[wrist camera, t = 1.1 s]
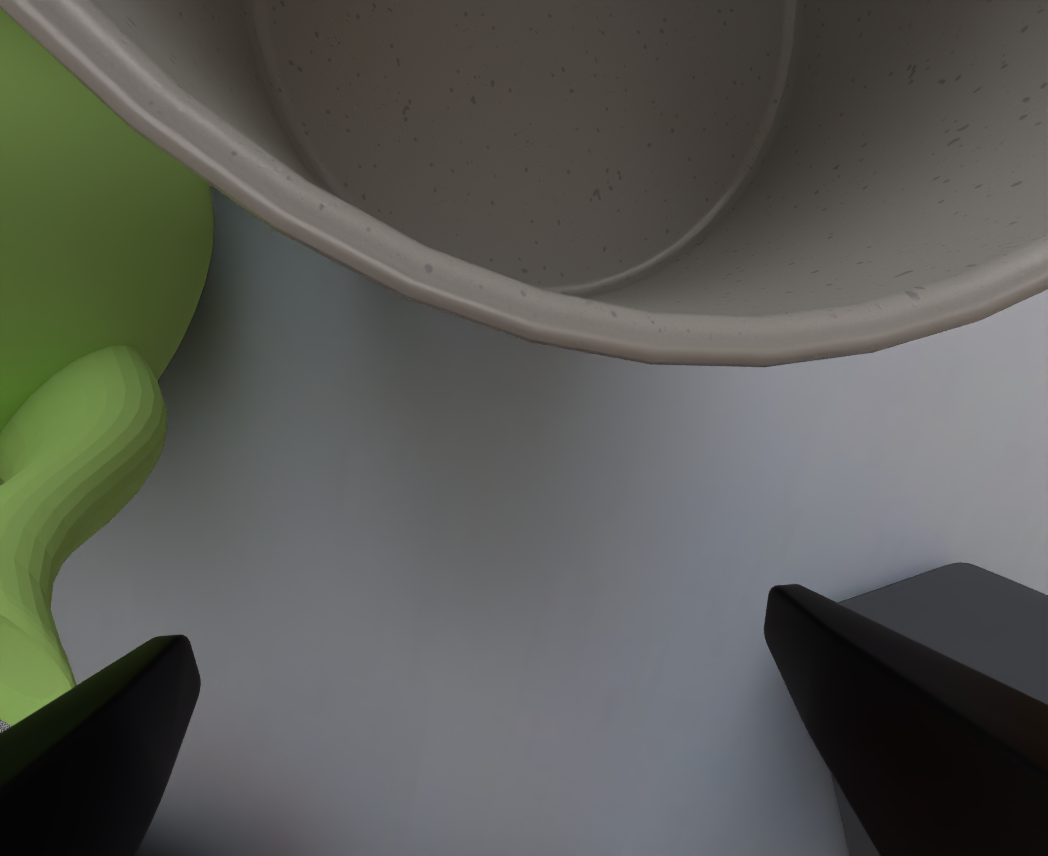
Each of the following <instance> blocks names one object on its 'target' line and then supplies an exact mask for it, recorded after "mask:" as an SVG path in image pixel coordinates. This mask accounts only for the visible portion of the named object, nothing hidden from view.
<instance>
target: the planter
mask: <svg viewBox="0 0 1048 856" xmlns="http://www.w3.org/2000/svg"><path fill="white" fill-rule="evenodd" d="M0 9H1V10H2V11H3V12H4V13H5V14H7V15H8V16H9V17H10V18H11V19H12V20H13V21H14V22H15V23H16V24H18V25H19V26H20V27H21V28H22V29H23V30H24V31H25V32H26V33H27V34H28V35H30V36H31V37H32V38H33V39H34V40H35V41H36V42H37V43H38V44H39V45H40V46H42V47H43V48H44V49H45V50H46V51H47V52H48V53H49V54H50V55H51V56H53V57H54V58H55V59H56V60H57V61H58V62H59V63H60V64H61V65H62V66H63V67H65V68H66V69H67V70H68V71H69V72H70V73H71V74H72V75H73V76H74V77H76V78H77V79H78V80H79V81H80V82H81V83H82V84H83V85H84V86H85V87H86V88H88V89H89V90H90V91H91V92H92V93H93V94H94V95H95V96H96V97H97V98H98V99H100V100H101V101H102V102H103V103H104V104H105V105H106V106H107V107H108V108H109V109H111V110H112V111H113V112H114V113H115V114H116V115H117V116H118V117H119V118H120V119H121V120H123V121H124V122H125V123H126V124H127V125H128V126H129V127H130V128H131V129H132V130H134V131H135V132H136V133H138V134H139V135H141V136H142V137H143V138H145V139H146V140H148V141H149V142H151V143H152V144H153V145H155V146H156V147H158V148H159V149H160V150H162V151H163V152H165V153H166V154H167V155H169V156H170V157H172V158H173V159H175V160H176V161H177V162H179V163H180V164H182V165H183V166H184V167H186V168H187V169H189V170H190V171H192V172H193V173H194V174H196V175H197V176H199V177H200V178H201V179H203V180H204V181H206V182H207V183H208V184H210V185H211V186H213V187H214V188H216V189H217V190H218V191H220V192H221V193H223V194H224V195H225V196H227V197H228V198H230V199H231V200H232V201H234V202H235V203H237V204H238V205H240V206H241V207H242V208H244V209H245V210H247V211H248V212H249V213H251V214H252V215H254V216H255V217H256V218H258V219H259V220H261V221H262V222H264V223H265V224H266V225H268V226H269V227H271V228H272V229H274V230H276V231H277V232H279V233H281V234H283V235H285V236H287V237H289V238H291V239H293V240H295V241H297V242H298V243H300V244H302V245H304V246H306V247H308V248H310V249H312V250H314V251H316V252H318V253H320V254H321V255H323V256H325V257H327V258H329V259H331V260H333V261H335V262H337V263H339V264H341V265H343V266H344V267H346V268H348V269H350V270H352V271H354V272H356V273H358V274H360V275H362V276H364V277H365V278H367V279H369V280H371V281H373V282H375V283H377V284H379V285H381V286H383V287H385V288H387V289H388V290H390V291H392V292H394V293H396V294H398V295H400V296H402V297H404V298H406V299H409V300H412V301H414V302H417V303H420V304H423V305H426V306H429V307H432V308H434V309H437V310H440V311H443V312H446V313H449V314H452V315H455V316H457V317H460V318H463V319H466V320H469V321H472V322H475V323H477V324H480V325H483V326H486V327H489V328H492V329H495V330H497V331H500V332H503V333H506V334H509V335H512V336H515V337H517V338H520V339H523V340H526V341H529V342H532V343H538V344H543V345H549V346H554V347H559V348H565V349H570V350H576V351H581V352H586V353H592V354H597V355H603V356H608V357H614V358H619V359H624V360H630V361H635V362H641V363H646V364H657V365H698V366H739V367H769V366H776V365H784V364H791V363H799V362H806V361H813V360H821V359H828V358H836V357H843V356H850V355H858V354H865V353H872V352H876V351H880V350H883V349H886V348H890V347H893V346H896V345H900V344H903V343H906V342H910V341H913V340H917V339H920V338H923V337H927V336H930V335H933V334H937V333H940V332H943V331H947V330H950V329H953V328H957V327H960V326H964V325H967V324H970V323H974V322H977V321H980V320H982V319H984V318H987V317H989V316H991V315H993V314H995V313H997V312H999V311H1002V310H1004V309H1006V308H1008V307H1010V306H1012V305H1014V304H1017V303H1019V302H1021V301H1023V300H1025V299H1027V298H1029V297H1032V296H1034V295H1036V294H1038V293H1040V292H1042V291H1045V290H1047V289H1048V0H0Z"/></svg>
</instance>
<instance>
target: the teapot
mask: <svg viewBox="0 0 1048 856" xmlns="http://www.w3.org/2000/svg"><path fill="white" fill-rule="evenodd" d="M214 218H215V216H214V209H213V202H212V195H211V188H210V184H208V183H207V182H206V181H204V180H203V179H201V178H200V177H199V176H197V175H196V174H194V173H193V172H192V171H190V170H189V169H187V168H186V167H184V166H183V165H182V164H180V163H179V162H177V161H176V160H175V159H173V158H172V157H170V156H169V155H167V154H166V153H165V152H163V151H162V150H160V149H159V148H158V147H156V146H155V145H153V144H152V143H151V142H149V141H148V140H146V139H145V138H143V137H142V136H141V135H139V134H138V133H136V132H135V131H134V130H132V129H131V128H130V127H129V126H128V125H127V124H126V123H125V122H124V121H123V120H121V119H120V118H119V117H118V116H117V115H116V114H115V113H114V112H113V111H112V110H111V109H109V108H108V107H107V106H106V105H105V104H104V103H103V102H102V101H101V100H100V99H98V98H97V97H96V96H95V95H94V94H93V93H92V92H91V91H90V90H89V89H88V88H86V87H85V86H84V85H83V84H82V83H81V82H80V81H79V80H78V79H77V78H76V77H74V76H73V75H72V74H71V73H70V72H69V71H68V70H67V69H66V68H65V67H63V66H62V65H61V64H60V63H59V62H58V61H57V60H56V59H55V58H54V57H53V56H51V55H50V54H49V53H48V52H47V51H46V50H45V49H44V48H43V47H42V46H40V45H39V44H38V43H37V42H36V41H35V40H34V39H33V38H32V37H31V36H30V35H28V34H27V33H26V32H25V31H24V30H23V29H22V28H21V27H20V26H19V25H18V24H16V23H15V22H14V21H13V20H12V19H11V18H10V17H9V16H8V15H7V14H5V13H4V12H3V11H2V10H1V9H0V719H1V720H2V721H4V722H6V723H8V724H9V725H12V726H13V725H14V724H16V723H18V722H19V721H21V720H22V719H24V718H26V717H27V716H29V715H30V714H32V713H34V712H35V711H37V710H38V709H40V708H42V707H43V706H45V705H46V704H48V703H50V702H51V701H53V700H54V699H56V698H58V697H59V696H61V695H62V694H64V693H66V692H67V691H69V690H70V689H72V688H74V687H75V686H77V685H76V681H75V678H74V676H73V673H72V670H71V667H70V664H69V662H68V659H67V656H66V654H65V651H64V649H63V647H62V645H61V642H60V638H59V635H58V632H57V629H56V625H55V622H54V619H53V616H52V612H51V599H52V588H53V582H54V580H55V578H56V576H57V574H58V572H59V570H60V568H61V566H62V564H63V563H64V562H65V560H66V559H67V558H68V557H69V556H70V555H71V553H72V552H73V551H75V550H76V549H77V548H78V547H79V546H80V545H82V544H83V543H84V542H85V541H86V540H87V539H89V538H90V537H91V536H92V535H93V534H95V533H96V532H97V531H98V530H100V529H101V528H102V527H103V526H104V525H106V524H107V523H108V522H109V521H110V520H111V519H112V518H113V517H114V516H115V515H116V514H117V513H118V512H119V511H120V510H121V509H122V508H123V507H124V506H125V505H126V504H127V503H128V502H129V501H130V500H131V499H132V498H133V497H134V495H135V494H136V493H137V492H138V491H139V489H140V488H141V486H142V485H143V483H144V482H145V480H146V479H147V477H148V476H149V474H150V472H151V471H152V469H153V467H154V466H155V464H156V462H157V461H158V459H159V456H160V454H161V451H162V448H163V445H164V440H165V434H166V427H167V410H166V407H165V403H164V399H163V396H162V392H161V389H160V387H159V385H158V382H157V381H158V379H159V378H160V377H161V375H162V374H163V372H164V370H165V369H166V367H167V366H168V364H169V362H170V361H171V359H172V357H173V356H174V354H175V352H176V351H177V349H178V347H179V345H180V343H181V341H182V339H183V337H184V335H185V333H186V330H187V328H188V326H189V324H190V322H191V320H192V318H193V315H194V313H195V310H196V307H197V304H198V301H199V299H200V296H201V293H202V290H203V287H204V285H205V282H206V277H207V273H208V268H209V264H210V259H211V255H212V250H213V237H214Z"/></svg>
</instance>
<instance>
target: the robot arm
mask: <svg viewBox="0 0 1048 856" xmlns="http://www.w3.org/2000/svg"><path fill="white" fill-rule="evenodd" d="M764 635H765V639H766V643H767V645H768V647H769V650H770V652H771V654H772V656H773V658H774V660H775V663H776V665H777V667H778V669H779V671H780V673H781V676H782V678H783V680H784V682H785V684H786V686H787V689H788V691H789V693H790V695H791V697H792V699H793V702H794V704H795V706H796V708H797V710H798V712H799V714H800V717H801V719H802V721H803V723H804V725H805V727H806V729H807V731H808V733H809V735H810V737H811V739H812V740H813V742H814V744H815V746H816V748H817V749H818V751H819V753H820V755H821V756H822V758H823V760H824V761H825V763H826V765H827V766H828V768H829V770H830V772H831V773H832V775H833V777H834V778H835V780H836V782H837V784H838V785H839V787H840V789H841V790H842V792H843V794H844V796H845V797H846V799H847V801H848V802H849V804H850V806H851V807H852V809H853V811H854V813H855V814H856V816H857V818H858V819H859V821H860V823H861V825H862V826H863V828H864V830H865V831H866V833H867V835H868V837H869V838H870V840H871V842H872V843H873V845H874V847H875V849H876V850H877V852H878V854H879V855H880V856H1048V704H1046V703H1044V702H1042V701H1040V700H1037V699H1035V698H1033V697H1031V696H1029V695H1027V694H1025V693H1023V692H1021V691H1019V690H1017V689H1015V688H1013V687H1010V686H1008V685H1006V684H1004V683H1002V682H1000V681H998V680H996V679H994V678H992V677H990V676H988V675H986V674H984V673H981V672H979V671H977V670H975V669H973V668H971V667H969V666H967V665H965V664H963V663H961V662H959V661H957V660H954V659H952V658H950V657H948V656H946V655H944V654H942V653H940V652H938V651H936V650H934V649H932V648H930V647H928V646H925V645H923V644H921V643H919V642H917V641H915V640H913V639H911V638H909V637H907V636H905V635H903V634H901V633H898V632H896V631H894V630H892V629H890V628H888V627H886V626H884V625H882V624H880V623H878V622H876V621H874V620H872V619H869V618H867V617H865V616H863V615H861V614H859V613H857V612H855V611H853V610H851V609H849V608H847V607H845V606H842V605H840V604H838V603H836V602H834V601H832V600H830V599H828V598H826V597H824V596H822V595H820V594H818V593H816V592H813V591H811V590H809V589H807V588H805V587H803V586H801V585H798V584H789V585H777V586H774V587H772V588H771V590H770V591H769V595H768V602H767V609H766V616H765V624H764ZM200 686H201V679H200V674H199V671H198V667H197V664H196V660H195V657H194V653H193V650H192V646H191V643H190V641H189V639H188V638H187V637H186V636H184V635H168V636H158V637H154V638H152V639H150V640H149V641H147V642H146V643H144V644H142V645H141V646H139V647H138V648H136V649H134V650H133V651H131V652H130V653H128V654H126V655H125V656H123V657H122V658H120V659H118V660H117V661H115V662H114V663H112V664H110V665H109V666H107V667H106V668H104V669H102V670H101V671H99V672H98V673H96V674H94V675H93V676H91V677H90V678H88V679H86V680H85V681H83V682H82V683H80V684H78V685H77V686H75V687H74V688H72V689H70V690H69V691H67V692H66V693H64V694H62V695H61V696H59V697H58V698H56V699H54V700H53V701H51V702H50V703H48V704H46V705H45V706H43V707H42V708H40V709H38V710H37V711H35V712H34V713H32V714H30V715H29V716H27V717H26V718H24V719H22V720H21V721H19V722H18V723H16V724H14V725H13V726H11V727H10V728H8V729H6V730H5V731H3V732H2V733H0V856H135V855H136V853H137V851H138V849H139V847H140V845H141V843H142V840H143V838H144V836H145V834H146V832H147V830H148V828H149V826H150V823H151V821H152V819H153V817H154V815H155V812H156V810H157V808H158V806H159V803H160V801H161V798H162V796H163V793H164V791H165V788H166V786H167V783H168V780H169V777H170V775H171V772H172V769H173V766H174V763H175V761H176V758H177V755H178V752H179V749H180V747H181V744H182V741H183V738H184V735H185V733H186V730H187V727H188V724H189V722H190V719H191V716H192V713H193V710H194V708H195V705H196V702H197V699H198V696H199V693H200Z"/></svg>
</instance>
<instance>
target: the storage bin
mask: <svg viewBox="0 0 1048 856" xmlns="http://www.w3.org/2000/svg"><path fill="white" fill-rule="evenodd" d="M838 604H840V605H842V606H845V607H847V608H849V609H851V610H853V611H855V612H857V613H859V614H861V615H863V616H865V617H867V618H869V619H872V620H874V621H876V622H878V623H880V624H882V625H884V626H886V627H888V628H890V629H892V630H894V631H896V632H898V633H901V634H903V635H905V636H907V637H909V638H911V639H913V640H915V641H917V642H919V643H921V644H923V645H925V646H928V647H930V648H932V649H934V650H936V651H938V652H940V653H942V654H944V655H946V656H948V657H950V658H952V659H954V660H957V661H959V662H961V663H963V664H965V665H967V666H969V667H971V668H973V669H975V670H977V671H979V672H981V673H984V674H986V675H988V676H990V677H992V678H994V679H996V680H998V681H1000V682H1002V683H1004V684H1006V685H1008V686H1010V687H1013V688H1015V689H1017V690H1019V691H1021V692H1023V693H1025V694H1027V695H1029V696H1031V697H1033V698H1035V699H1037V700H1040V701H1042V702H1044V703H1046V704H1048V595H1045V594H1043V593H1041V592H1038V591H1036V590H1033V589H1031V588H1029V587H1026V586H1024V585H1022V584H1019V583H1017V582H1014V581H1012V580H1010V579H1007V578H1005V577H1002V576H1000V575H998V574H995V573H992V572H990V571H987V570H985V569H982V568H980V567H977V566H975V565H972V564H969V563H954V564H949V565H946V566H943V567H940V568H937V569H934V570H931V571H928V572H925V573H922V574H920V575H917V576H914V577H911V578H908V579H905V580H902V581H900V582H897V583H894V584H891V585H889V586H886V587H883V588H880V589H877V590H874V591H871V592H868V593H865V594H862V595H859V596H856V597H853V598H851V599H848V600H845V601H842V602H839V603H838ZM831 775H832V773H831ZM832 779H833V783H834V787H835V792H836V796H837V800H838V804H839V809H840V813H841V817H842V822H843V826H844V831H845V836H846V840H847V845H848V849H849V854H850V856H880V855H879V854H878V852H877V850H876V849H875V847H874V845H873V843H872V842H871V840H870V838H869V837H868V835H867V833H866V831H865V830H864V828H863V826H862V825H861V823H860V821H859V819H858V818H857V816H856V814H855V813H854V811H853V809H852V807H851V806H850V804H849V802H848V801H847V799H846V797H845V796H844V794H843V792H842V790H841V789H840V787H839V785H838V784H837V782H836V780H835V778H834V777H833V775H832Z"/></svg>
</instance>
